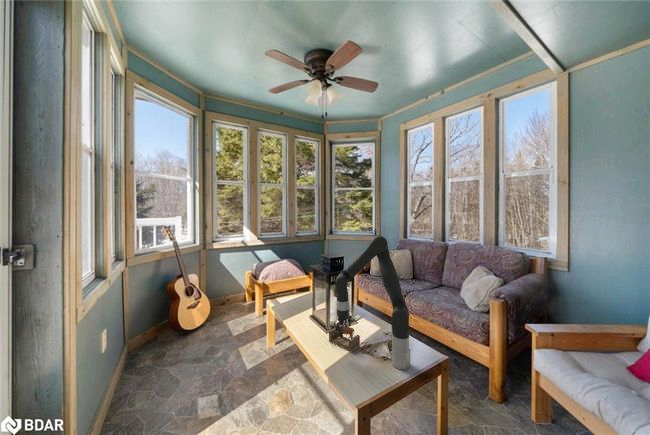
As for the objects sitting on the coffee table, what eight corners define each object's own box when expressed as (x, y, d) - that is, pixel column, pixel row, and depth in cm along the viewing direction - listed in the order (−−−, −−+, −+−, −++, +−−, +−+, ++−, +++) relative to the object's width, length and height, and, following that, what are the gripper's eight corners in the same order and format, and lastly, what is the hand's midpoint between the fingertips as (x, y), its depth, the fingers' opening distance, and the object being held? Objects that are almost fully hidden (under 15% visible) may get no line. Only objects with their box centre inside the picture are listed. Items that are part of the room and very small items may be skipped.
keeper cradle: (359, 346, 162) (359, 335, 161) (351, 352, 155) (351, 341, 155) (337, 336, 175) (337, 326, 175) (328, 341, 168) (328, 330, 168)
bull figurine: (335, 334, 156) (335, 321, 156) (355, 339, 149) (355, 325, 149) (332, 337, 152) (331, 324, 152) (352, 342, 145) (352, 328, 145)
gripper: (340, 313, 142) (340, 342, 143) (355, 305, 153) (355, 333, 153) (330, 309, 147) (331, 338, 148) (345, 302, 158) (346, 329, 158)
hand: (343, 335), depth 150 cm, fingers closed on bull figurine, 5 cm apart
